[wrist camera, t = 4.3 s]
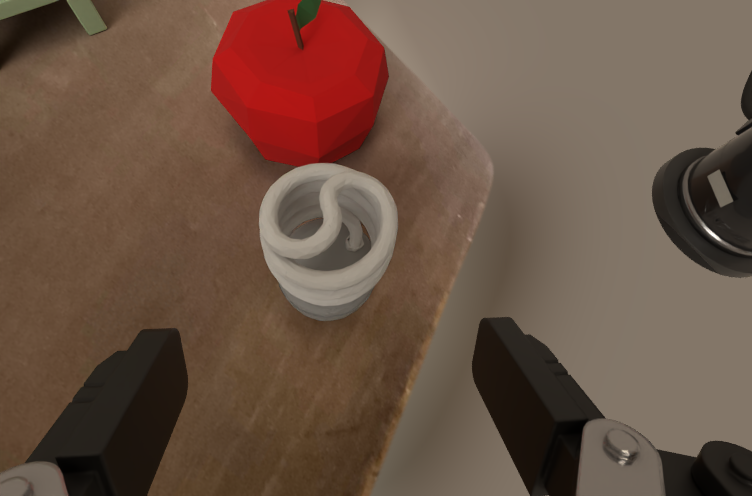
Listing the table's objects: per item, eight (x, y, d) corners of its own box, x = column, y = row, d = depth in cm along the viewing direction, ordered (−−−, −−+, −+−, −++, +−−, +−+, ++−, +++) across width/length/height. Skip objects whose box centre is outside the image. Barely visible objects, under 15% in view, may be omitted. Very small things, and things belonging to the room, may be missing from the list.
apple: (324, 217, 27) (325, 122, 18) (200, 137, 28) (139, 8, 18) (402, 117, 31) (437, -4, 21) (291, 50, 32) (278, -94, 22)
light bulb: (326, 353, 24) (329, 315, 13) (263, 289, 25) (213, 201, 13) (388, 288, 26) (439, 206, 14) (327, 231, 26) (331, 112, 15)
